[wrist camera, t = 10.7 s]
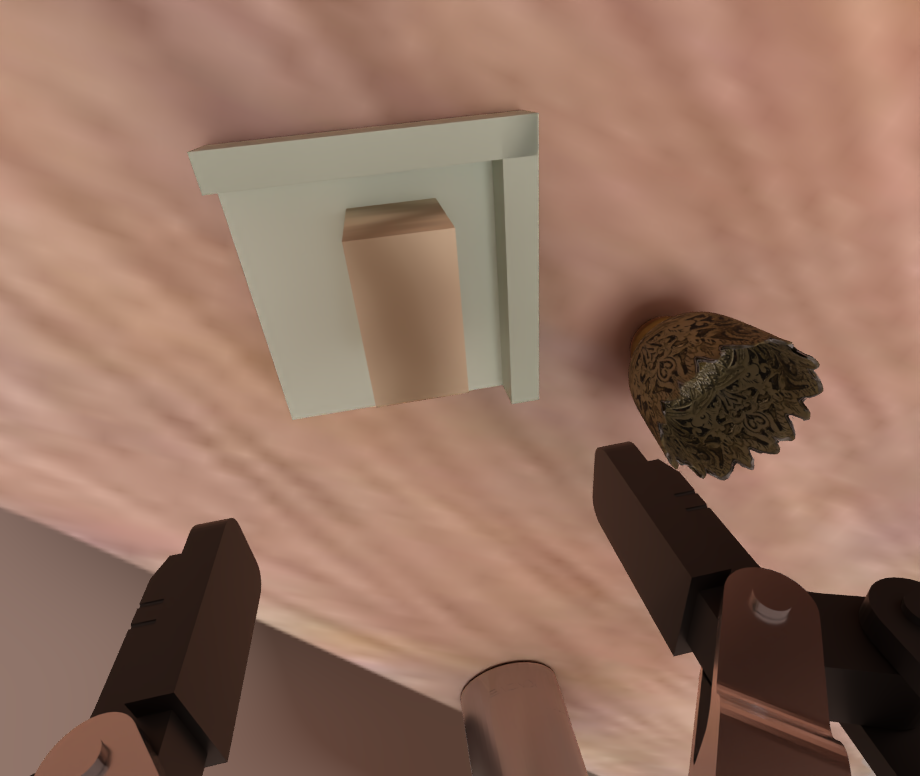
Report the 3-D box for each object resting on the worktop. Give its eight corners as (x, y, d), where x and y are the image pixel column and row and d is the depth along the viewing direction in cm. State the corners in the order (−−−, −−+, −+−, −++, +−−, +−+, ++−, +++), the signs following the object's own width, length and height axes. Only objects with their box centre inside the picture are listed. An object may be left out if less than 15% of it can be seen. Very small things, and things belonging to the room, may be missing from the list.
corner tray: (526, 376, 29) (538, 399, 27) (293, 414, 27) (287, 442, 25) (521, 110, 21) (538, 112, 19) (205, 145, 20) (187, 152, 18)
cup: (568, 364, 29) (631, 449, 22) (654, 254, 26) (756, 313, 19) (654, 411, 32) (733, 499, 25) (739, 317, 29) (853, 387, 22)
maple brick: (435, 197, 22) (454, 227, 18) (449, 337, 26) (469, 392, 21) (345, 208, 22) (341, 242, 17) (373, 349, 26) (376, 407, 21)
